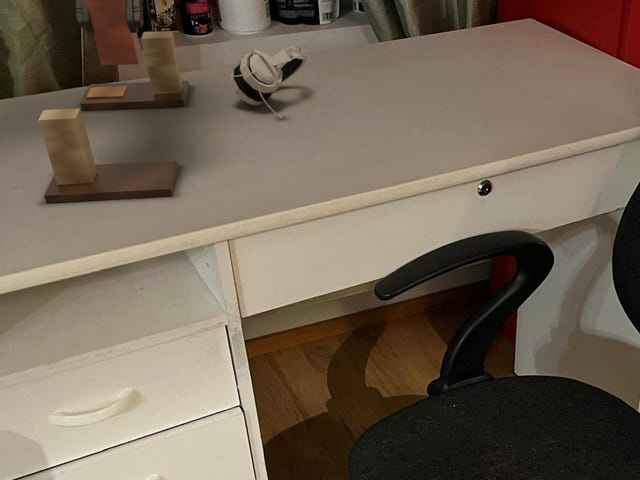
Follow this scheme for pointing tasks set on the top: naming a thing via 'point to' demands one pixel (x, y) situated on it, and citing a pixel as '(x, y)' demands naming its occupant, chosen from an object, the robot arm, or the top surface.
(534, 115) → the top surface
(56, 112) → the cream block stand
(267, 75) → the headphones
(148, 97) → the upright block on base
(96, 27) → the tall red-orange pillar
